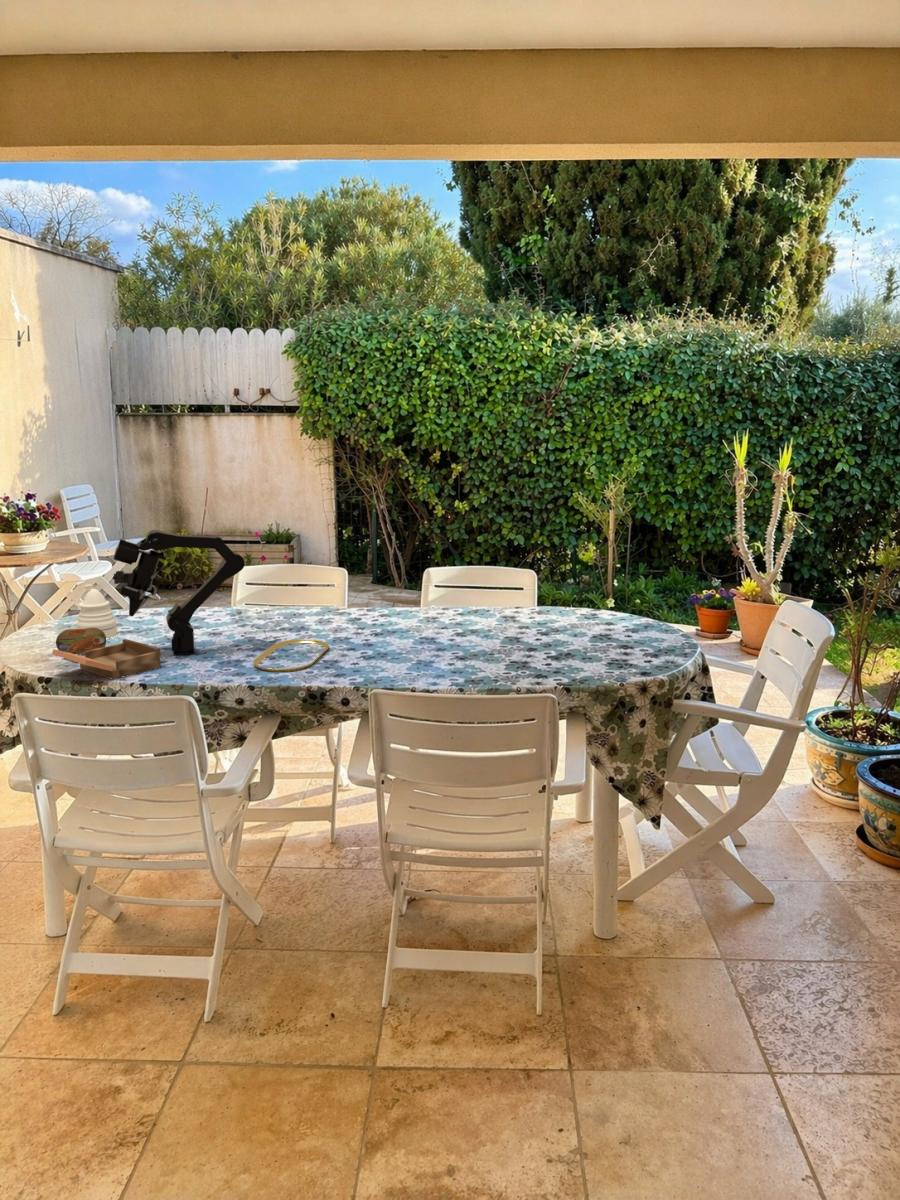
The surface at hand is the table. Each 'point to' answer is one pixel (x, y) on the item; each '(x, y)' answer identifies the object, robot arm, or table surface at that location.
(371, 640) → the table surface
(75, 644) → the tin
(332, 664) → the table surface
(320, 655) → the oval ring
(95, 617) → the honey pot
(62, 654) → the tailgate
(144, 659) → the brown shallow open box
